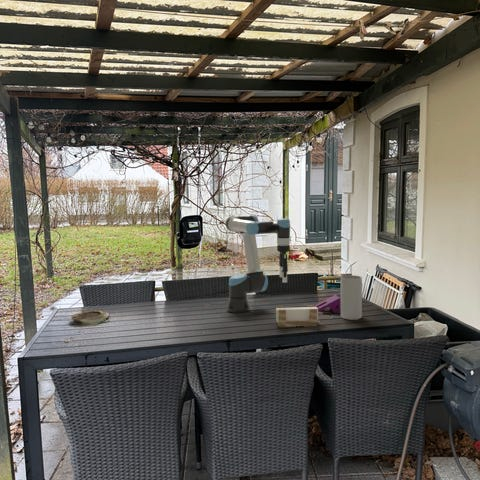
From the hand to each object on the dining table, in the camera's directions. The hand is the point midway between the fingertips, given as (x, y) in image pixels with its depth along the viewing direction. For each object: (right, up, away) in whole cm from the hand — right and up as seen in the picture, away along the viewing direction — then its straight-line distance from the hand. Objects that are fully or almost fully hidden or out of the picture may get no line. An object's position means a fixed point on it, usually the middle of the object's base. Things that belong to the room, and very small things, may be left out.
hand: (283, 279), depth 255 cm
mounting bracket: (+31, -23, +22) cm, 44 cm away
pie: (-121, -28, +14) cm, 125 cm away
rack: (+7, -26, -5) cm, 27 cm away
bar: (+9, -23, -5) cm, 25 cm away
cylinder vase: (+42, -24, +6) cm, 49 cm away
